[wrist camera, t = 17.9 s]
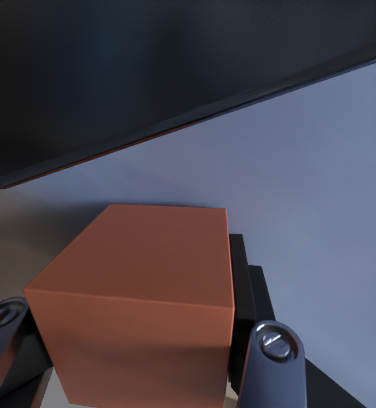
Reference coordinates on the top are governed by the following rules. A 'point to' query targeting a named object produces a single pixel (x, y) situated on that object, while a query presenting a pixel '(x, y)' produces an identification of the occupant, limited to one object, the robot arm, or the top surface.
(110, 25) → the pot
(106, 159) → the top surface
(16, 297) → the robot arm
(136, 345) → the block
